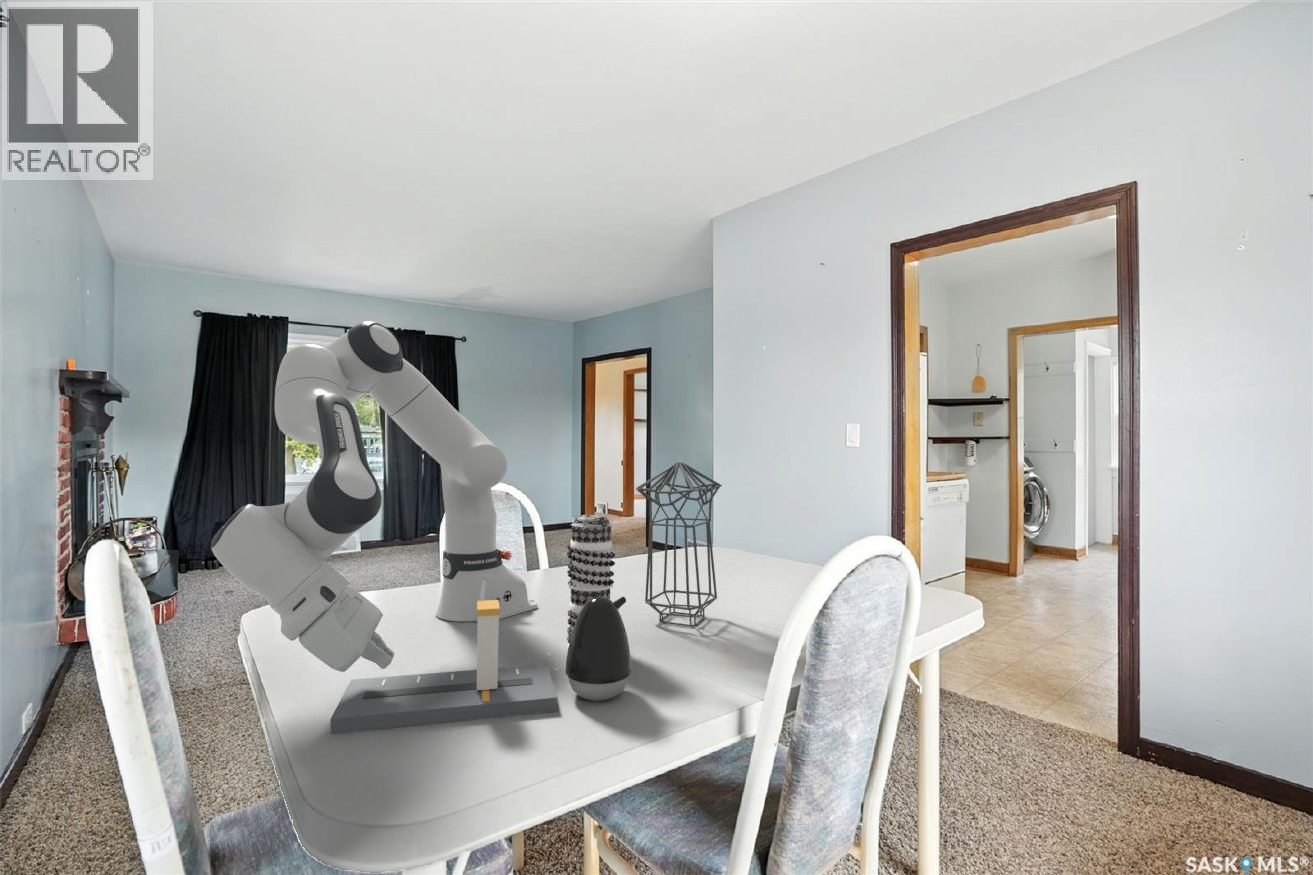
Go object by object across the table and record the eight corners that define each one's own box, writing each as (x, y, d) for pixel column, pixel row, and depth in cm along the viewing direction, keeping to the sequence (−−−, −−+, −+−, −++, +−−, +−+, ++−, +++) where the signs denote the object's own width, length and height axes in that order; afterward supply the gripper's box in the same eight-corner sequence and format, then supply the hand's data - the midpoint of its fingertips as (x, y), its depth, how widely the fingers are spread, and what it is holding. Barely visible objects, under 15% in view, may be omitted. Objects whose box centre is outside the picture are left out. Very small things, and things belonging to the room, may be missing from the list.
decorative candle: (555, 646, 121) (557, 515, 121) (592, 636, 127) (594, 512, 127) (585, 659, 114) (587, 520, 114) (623, 647, 121) (625, 516, 121)
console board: (330, 733, 84) (330, 717, 85) (350, 692, 98) (351, 678, 98) (556, 711, 93) (556, 696, 93) (546, 676, 106) (547, 663, 106)
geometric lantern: (701, 635, 130) (699, 464, 130) (633, 625, 137) (631, 463, 137) (727, 615, 144) (725, 461, 144) (664, 607, 151) (662, 460, 151)
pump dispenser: (645, 694, 99) (646, 597, 99) (593, 714, 92) (594, 609, 92) (603, 676, 106) (605, 585, 106) (552, 693, 99) (553, 595, 99)
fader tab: (475, 690, 94) (477, 609, 94) (476, 677, 99) (477, 600, 99) (498, 688, 95) (499, 608, 95) (497, 676, 100) (498, 599, 100)
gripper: (317, 597, 100) (383, 654, 102) (277, 637, 80) (360, 707, 83) (348, 568, 101) (413, 625, 104) (316, 600, 81) (397, 670, 84)
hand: (389, 662), depth 93 cm, fingers closed
